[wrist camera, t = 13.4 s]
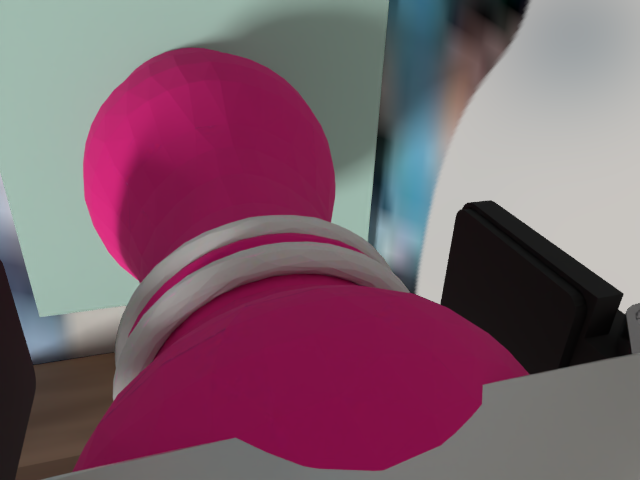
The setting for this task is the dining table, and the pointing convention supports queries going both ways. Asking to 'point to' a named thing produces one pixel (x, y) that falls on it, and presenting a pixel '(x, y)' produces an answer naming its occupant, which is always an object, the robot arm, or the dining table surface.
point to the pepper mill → (259, 284)
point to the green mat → (116, 66)
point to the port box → (65, 414)
